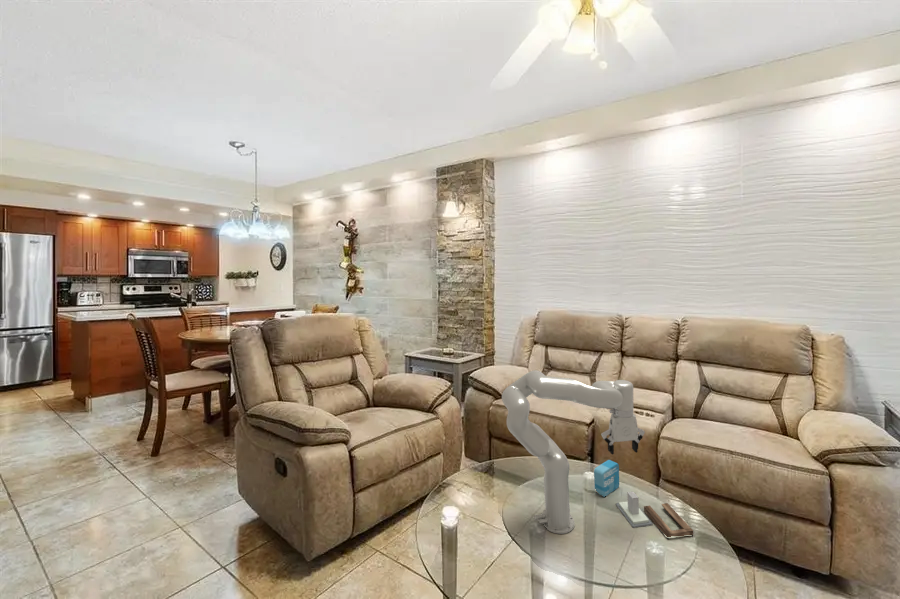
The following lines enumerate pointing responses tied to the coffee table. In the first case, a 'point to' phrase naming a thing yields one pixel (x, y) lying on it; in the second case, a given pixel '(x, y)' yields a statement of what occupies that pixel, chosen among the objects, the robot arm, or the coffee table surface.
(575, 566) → the coffee table surface
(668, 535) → the brown u-shaped frame
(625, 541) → the coffee table surface
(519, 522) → the coffee table surface
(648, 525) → the felt pad
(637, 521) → the cover plate
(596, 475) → the data package
